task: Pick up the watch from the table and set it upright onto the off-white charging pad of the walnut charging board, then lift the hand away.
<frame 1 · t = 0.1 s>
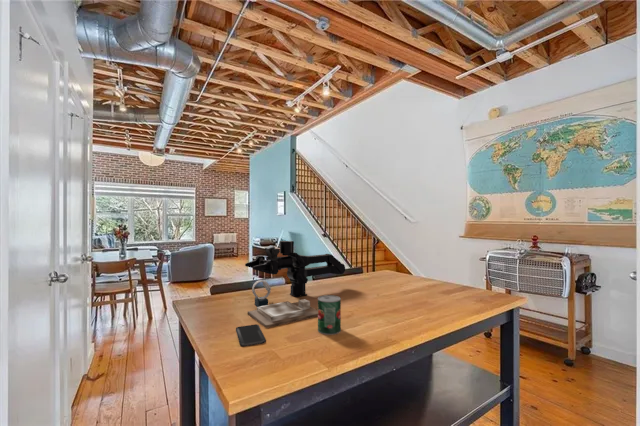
hand: (249, 266, 134), 17 cm above the kitchen island, tool horizontal, fingers open, 9 cm apart
charging board: (284, 314, 119), on the kitchen island
canned tomato: (329, 330, 103), on the kitchen island
phone: (250, 337, 99), on the kitchen island
watch: (261, 306, 131), on the kitchen island
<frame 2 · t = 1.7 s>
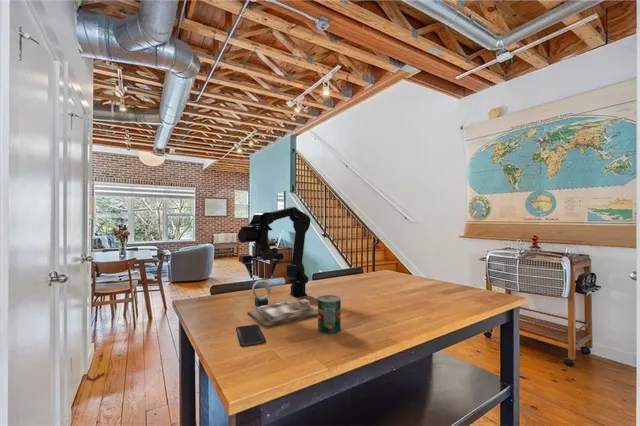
hand: (261, 277, 131), 12 cm above the kitchen island, tool pointing down, fingers open, 9 cm apart
nothing on the kitchen island moved.
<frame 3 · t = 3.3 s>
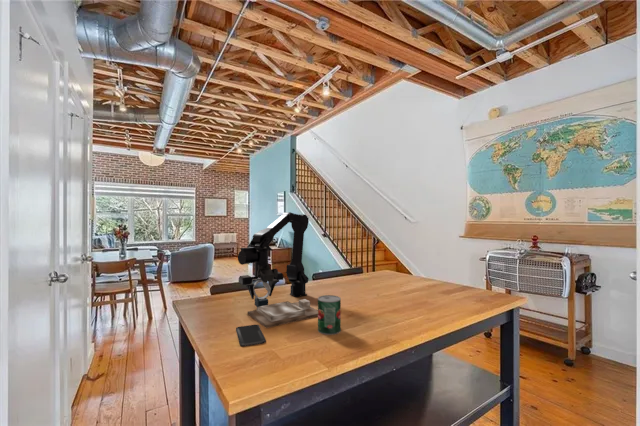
hand: (261, 297, 131), 4 cm above the kitchen island, tool pointing down, fingers closed on watch, 8 cm apart
watch: (261, 306, 131), on the kitchen island, touching gripper
everything else where it was.
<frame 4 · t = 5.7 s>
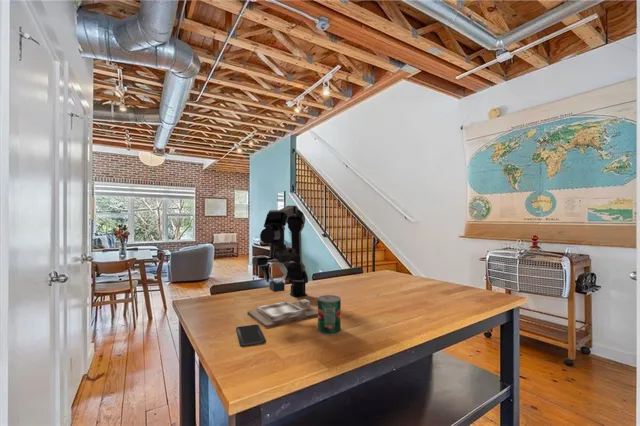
hand: (277, 280, 119), 13 cm above the kitchen island, tool pointing down, fingers closed on watch, 8 cm apart
watch: (277, 290, 119), point 10 cm above the kitchen island, touching gripper
everything else where it was.
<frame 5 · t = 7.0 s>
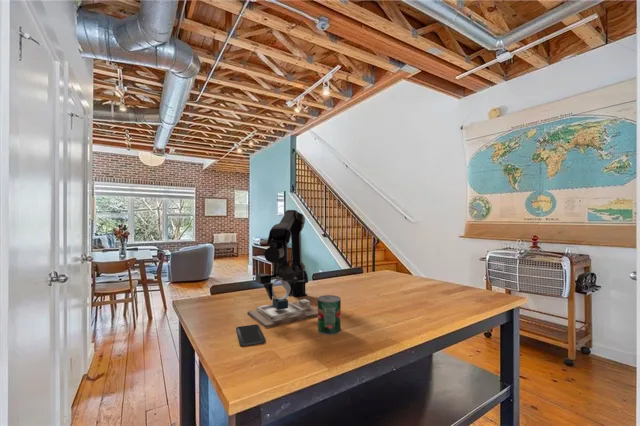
hand: (280, 298, 118), 7 cm above the kitchen island, tool pointing down, fingers closed on watch, 8 cm apart
watch: (280, 307, 118), point 3 cm above the kitchen island, touching gripper
everything else where it was.
when the fingers open (6 cm above the kitchen island, at t = 8.1 s): watch stays where it is, resting on charging board.
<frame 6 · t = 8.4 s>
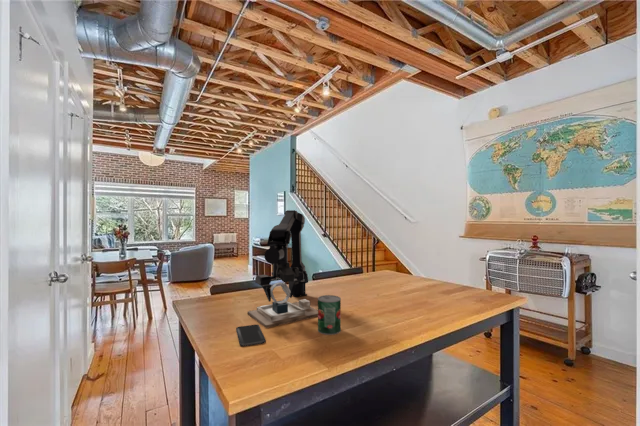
hand: (280, 299, 118), 6 cm above the kitchen island, tool pointing down, fingers open, 9 cm apart
watch: (280, 311, 118), point 2 cm above the kitchen island, touching charging board
everything else where it was.
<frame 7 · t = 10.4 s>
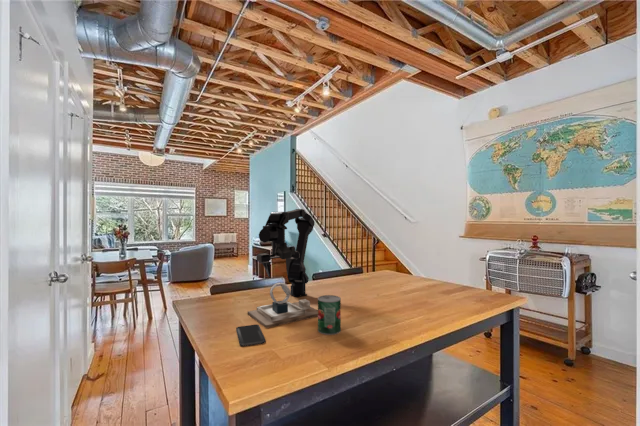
hand: (278, 275, 133), 13 cm above the kitchen island, tool pointing down, fingers open, 9 cm apart
nothing on the kitchen island moved.
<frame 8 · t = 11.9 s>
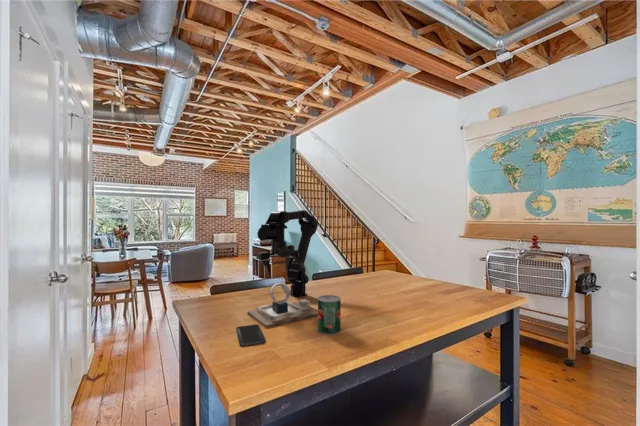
hand: (278, 273, 135), 13 cm above the kitchen island, tool pointing down, fingers open, 9 cm apart
nothing on the kitchen island moved.
at the end: watch 0.1 cm from the target spot on the charging board, point 1.6 cm above the charging board's base; watch tilted 0°; the gripper is holding nothing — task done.
